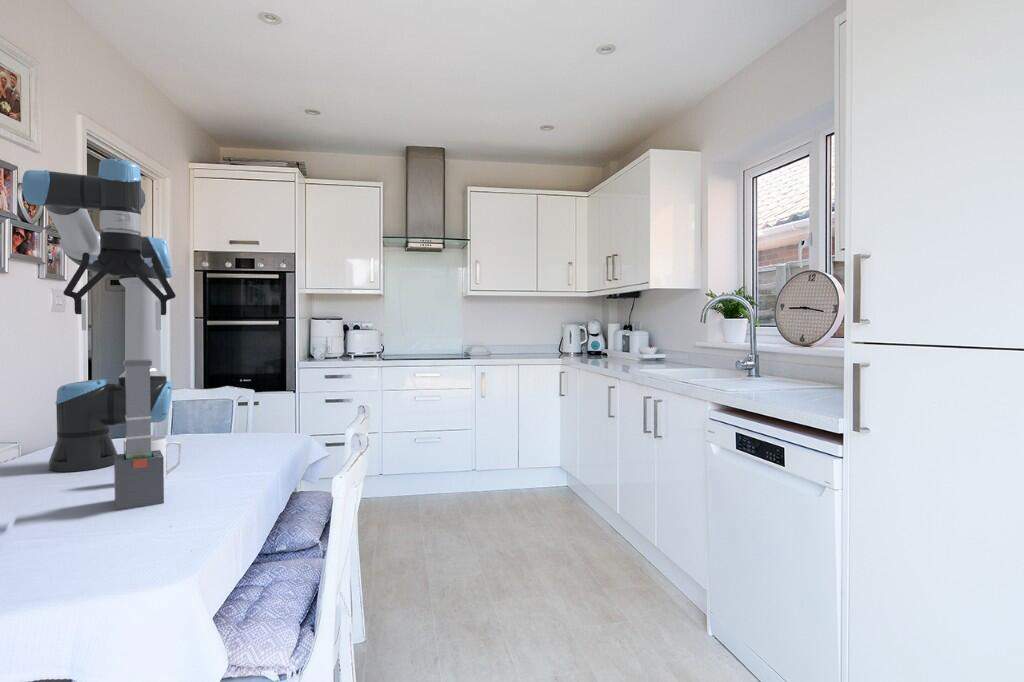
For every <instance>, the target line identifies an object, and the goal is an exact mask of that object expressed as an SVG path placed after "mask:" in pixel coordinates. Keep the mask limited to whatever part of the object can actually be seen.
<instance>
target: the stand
mask: <svg viewBox="0 0 1024 682" xmlns="http://www.w3.org/2000/svg"><path fill="white" fill-rule="evenodd" d="M113 467H114V468H113V473H114V475H113V477H114V479H113V480H114V481H113V482H114V484H113V485H114V507H115V511H116V512H117V511H122V510H129V509H137V508H143V507H149V506H150V507H151V506H157V505H163V504H165V488H164V487H165V482H164V481H165V479H164V459H163V455H162V453H161V451H160V450H155V451H152V457H147V458H138V459H129V460H126V457H125V454H124V453H119V454H118V453H117V455H114V464H113Z"/></svg>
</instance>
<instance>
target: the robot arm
mask: <svg viewBox="0 0 1024 682" xmlns="http://www.w3.org/2000/svg"><path fill="white" fill-rule="evenodd" d="M141 181H142V176H141V167H140V166H139V165H138V164H137V163H135V162H132V161H129V160H124V159H119V158H118V159H116V158H105V159H101V160H100V161H99V166H98V174H97V176H96V175H86V174H77V173H69V172H67V173H66V172H62V171H61V172H60V171H52V170H51V171H50V170H47V169H45V170H40V169H39V170H37V169H29V170H26V171H24V173H23V175H22V180H21V182H22V183H21V186H22V187H21V188H22V194H23V198H24V199H25V201H26V202H27V203H28V204H29V205H30V204H31V205H33V206H35V205H37V206H40V207H44V208H45V210H46V212H47V214H48V215H49V217H50V219H51V220H52V223H53V225H54V227H55V229H56V230H57V232H58V234H59V236H60V237H61V238H60V246H61V249H62V251H63V253H64V255H66V256H67V258H69V260H70V261H72V262H74V263H75V264H76V265H77V266H79V267H78V268H77V270H76V271H75V273H74V274H73V276H72V277H71V279H70V280H69V283H68V284H67V286H66V288H65V289H64V291H63V295H64V296H66V297H70V298H72V299H73V300H74V314H75V315H81V331H87V299H82V298H83V297H84V296H85V295H86V294H87V293H88V292H89V291H90V290H91V289H92V288H93V287H94V286H95V285H96V284H97V283H99V281H101V280H102V279H103V278H104V277H105V276H112V277H113V276H114V277H116V276H117V277H118V281H119V283H120V284H121V285H122V286H123V287H124V288H125V297H124V298H125V302H124V303H125V309H124V310H125V313H124V315H125V316H124V317H125V318H124V319H125V320H124V321H125V322H124V324H125V328H124V329H125V330H124V331H125V333H124V334H125V336H124V337H125V338H124V339H125V340H124V341H125V344H124V347H125V349H124V353H125V354H124V358H125V359H124V360H151V361H152V365H151V366H150V411H151V424H154V423H155V424H156V423H159V422H160V423H162V422H164V421H165V420H166V419H167V418H168V416H169V413H170V408H171V407H170V406H171V399H172V393H173V382H172V381H170V380H168V378H167V377H168V376H167V374H166V373H165V372H163V370H161V368H162V367H161V366H162V364H161V362H162V361H161V354H162V353H161V350H162V349H161V345H162V344H161V342H162V341H161V330H162V316H167V302H168V301H169V300H173V299H175V298H176V293H175V292H174V290H173V289H172V287H171V284H170V283H169V281H168V279H171V278H172V277H173V274H172V272H173V271H172V266H171V261H170V253H169V248H168V243H167V242H166V240H165V239H163V238H160V237H151V236H148V235H147V236H142V235H139V234H140V233H141V232H142V209H144V207H145V205H146V193H145V191H144V190H143V188H142V184H141ZM88 210H95V211H98V212H99V229H100V230H101V231H102V232H99V231H97V230H96V229H95V226H94V224H93V222H92V218H91V217H90V214H89V212H88ZM86 270H87V271H89V272H93V273H95V274H96V275H94V276H93V277H92V278H91V279H89V281H87V282H86V283H85V284H84V285H83V286H82V287H81V288H80V289H79V290H78V291H77V292H75V291H74V289H75V288H76V286H77V285H78V283H79V281H80V280H81V278H82V276H83V275H84V273H85V271H86ZM162 288H163V290H164V291H165V293H166V294H164V293H163V292H162V291H161V289H162ZM167 380H168V381H167ZM55 405H56V442H55V444H54V447H53V450H52V452H51V454H50V458H49V460H48V470H49V471H52V472H58V473H59V472H60V473H61V472H63V473H64V472H66V473H67V472H69V473H70V472H79V471H80V472H81V471H90V470H91V471H92V470H95V469H101V468H106V467H110V466H112V465H113V466H114V455H117V454H118V452H117V449H116V446H115V444H114V442H113V439H112V437H111V430H110V429H111V427H110V426H122V425H123V426H124V425H125V426H126V418H125V415H126V390H125V370H124V371H123V373H121V374H120V375H119V376H118V383H111V382H110V380H109V378H98V379H97V378H96V379H90V380H89V379H87V380H82V381H75V382H72V383H71V382H69V383H67V384H63V385H61V386H59V387H58V389H57V390H56V402H55Z"/></svg>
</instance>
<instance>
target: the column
mask: <svg viewBox="0 0 1024 682" xmlns="http://www.w3.org/2000/svg"><path fill="white" fill-rule="evenodd" d="M122 363H123V364H122V365H123V367H124V371H125V390H126V415H125V418H126V425H125V435H124V436H125V439H126V451H125V457H126V460H129V459H138V458H147V457H152V451H151V435H152V432H151V431H152V429H151V426H152V425H151V424H152V423H151V411H150V366H151V365H152V361H151V360H125V359H124V360H123V362H122Z"/></svg>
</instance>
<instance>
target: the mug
mask: <svg viewBox="0 0 1024 682" xmlns="http://www.w3.org/2000/svg"><path fill="white" fill-rule="evenodd" d="M167 439H168V437H167V436H166V435H163V434H162V435H161V434H160V435H159V434H157V435H156V434H154V435H153V434H151V451H155V450H160V451H161V453H162V455H163V459H164V480H165V479H167V478H168V475H169V474H170V473H171V472H172V471H174V470H176V469H177V468H178V467H179V466H180V464H181V459H182V458H181V457H182V454H181V453H182V442H178V441H170V442H168V440H167ZM170 445H177V446H178V458H177V463H176V464H175V465H173V466H172V467H171V468H169V469H168V452H167V448H168V447H169V446H170ZM125 451H126V438H125V439H124V440H123V454H125Z"/></svg>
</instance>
